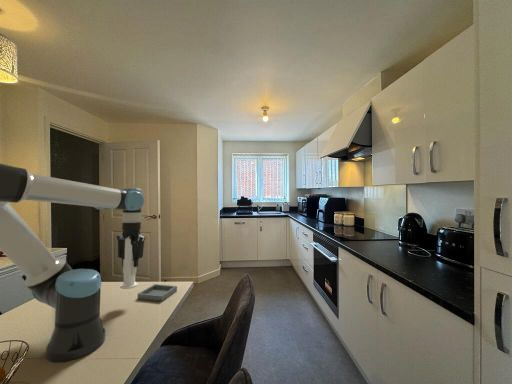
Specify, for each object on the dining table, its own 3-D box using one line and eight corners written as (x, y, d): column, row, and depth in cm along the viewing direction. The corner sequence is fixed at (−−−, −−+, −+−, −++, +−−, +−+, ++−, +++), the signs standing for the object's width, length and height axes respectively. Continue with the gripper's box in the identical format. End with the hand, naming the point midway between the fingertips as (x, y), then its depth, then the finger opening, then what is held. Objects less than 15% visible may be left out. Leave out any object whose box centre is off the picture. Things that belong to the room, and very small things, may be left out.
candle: (132, 289, 100) (134, 231, 102) (116, 289, 101) (118, 231, 102) (141, 283, 107) (142, 229, 109) (126, 283, 108) (127, 229, 109)
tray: (161, 301, 107) (162, 296, 107) (137, 299, 110) (137, 293, 110) (176, 291, 120) (177, 286, 120) (154, 288, 122) (154, 284, 123)
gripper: (153, 221, 107) (151, 272, 106) (122, 220, 111) (120, 270, 110) (142, 223, 100) (139, 277, 99) (109, 221, 103) (107, 274, 102)
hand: (129, 273), depth 104 cm, fingers closed on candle, 3 cm apart
